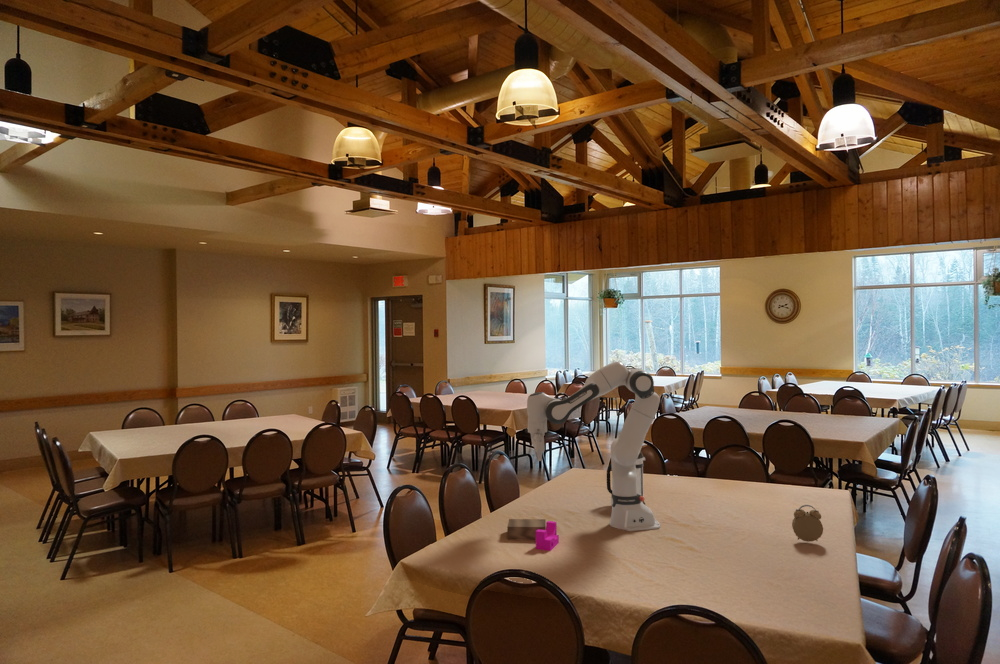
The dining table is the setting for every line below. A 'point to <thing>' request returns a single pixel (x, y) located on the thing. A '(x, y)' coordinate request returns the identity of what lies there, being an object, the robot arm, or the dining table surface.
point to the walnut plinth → (525, 528)
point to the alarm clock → (807, 524)
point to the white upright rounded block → (638, 472)
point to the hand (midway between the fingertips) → (538, 458)
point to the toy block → (547, 537)
